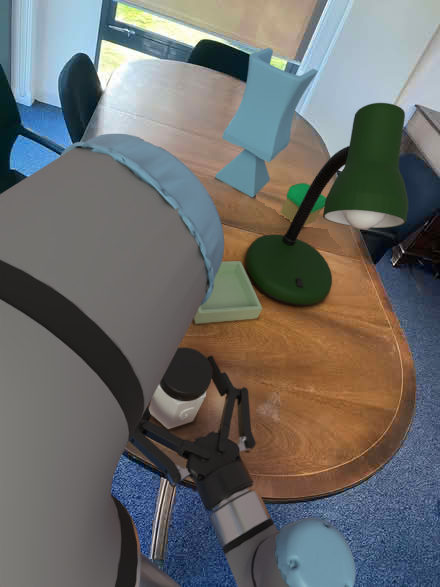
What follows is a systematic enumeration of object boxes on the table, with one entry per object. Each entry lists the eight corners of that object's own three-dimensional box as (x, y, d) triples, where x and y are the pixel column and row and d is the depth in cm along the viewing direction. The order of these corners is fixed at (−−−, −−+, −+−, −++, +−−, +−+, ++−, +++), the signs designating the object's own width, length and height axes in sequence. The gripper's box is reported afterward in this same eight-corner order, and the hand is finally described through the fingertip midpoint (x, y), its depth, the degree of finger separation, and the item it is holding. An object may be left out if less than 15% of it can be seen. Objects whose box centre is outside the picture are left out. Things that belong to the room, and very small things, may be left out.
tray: (195, 324, 80) (199, 313, 78) (179, 273, 89) (182, 262, 86) (257, 318, 86) (262, 308, 83) (236, 271, 95) (240, 260, 92)
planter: (272, 181, 129) (318, 70, 104) (254, 200, 118) (301, 81, 94) (232, 160, 132) (268, 47, 107) (211, 177, 121) (245, 55, 96)
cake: (292, 202, 124) (306, 175, 117) (318, 221, 120) (333, 194, 113) (274, 209, 118) (287, 181, 111) (300, 230, 114) (315, 202, 107)
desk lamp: (345, 341, 89) (496, 167, 57) (252, 329, 83) (361, 131, 52) (316, 251, 109) (415, 87, 77) (240, 237, 104) (313, 55, 72)
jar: (155, 435, 63) (168, 401, 54) (141, 391, 67) (150, 353, 59) (204, 419, 67) (223, 385, 58) (188, 378, 71) (203, 341, 63)
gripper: (142, 550, 50) (95, 405, 61) (290, 471, 62) (229, 362, 73) (150, 538, 44) (97, 381, 55) (310, 454, 57) (241, 339, 67)
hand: (172, 370), depth 64 cm, fingers open, 13 cm apart
